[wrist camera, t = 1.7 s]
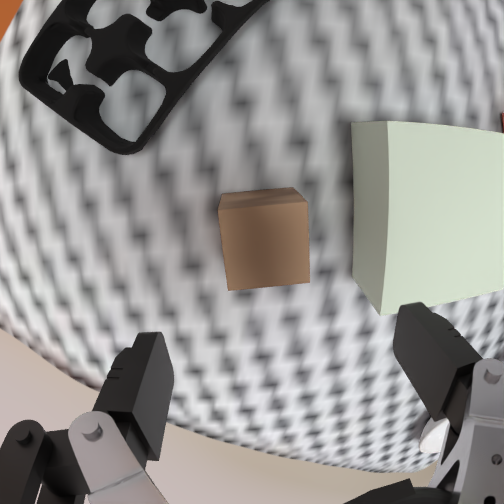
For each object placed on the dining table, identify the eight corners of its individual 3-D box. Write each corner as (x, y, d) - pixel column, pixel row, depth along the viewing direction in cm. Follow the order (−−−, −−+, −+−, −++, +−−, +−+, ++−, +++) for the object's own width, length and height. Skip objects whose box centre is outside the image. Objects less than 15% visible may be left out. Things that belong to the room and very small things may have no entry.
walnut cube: (292, 187, 22) (307, 201, 17) (296, 252, 24) (309, 282, 19) (222, 193, 22) (217, 210, 17) (229, 259, 24) (228, 290, 19)
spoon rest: (437, 441, 37) (453, 473, 30) (395, 433, 34) (412, 473, 27) (539, 327, 30) (567, 353, 23) (517, 296, 27) (553, 326, 21)
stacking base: (473, 130, 20) (521, 137, 15) (465, 260, 25) (503, 289, 19) (350, 122, 20) (387, 121, 15) (352, 276, 25) (380, 316, 19)
